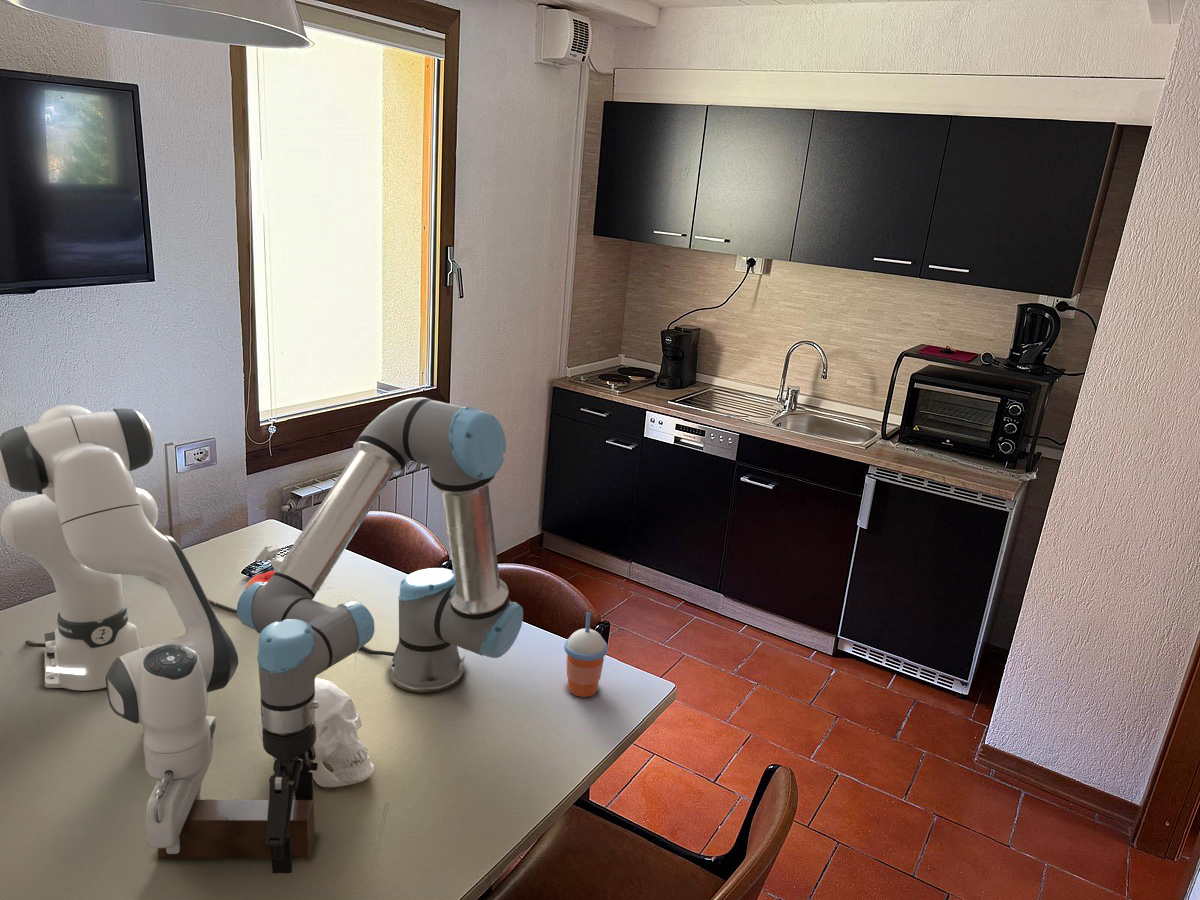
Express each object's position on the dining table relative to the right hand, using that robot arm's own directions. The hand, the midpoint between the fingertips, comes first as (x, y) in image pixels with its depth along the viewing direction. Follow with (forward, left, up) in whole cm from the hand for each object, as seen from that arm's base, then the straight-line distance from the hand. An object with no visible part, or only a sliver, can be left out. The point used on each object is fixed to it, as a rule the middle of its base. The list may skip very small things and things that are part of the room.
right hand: (293, 838), depth 133 cm
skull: (-11, +16, -2) cm, 19 cm away
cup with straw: (+17, +64, -2) cm, 66 cm away
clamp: (-71, +66, -2) cm, 97 cm away
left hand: (-14, -9, +2) cm, 16 cm away
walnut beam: (-7, -5, -2) cm, 8 cm away
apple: (-59, +49, -2) cm, 77 cm away
